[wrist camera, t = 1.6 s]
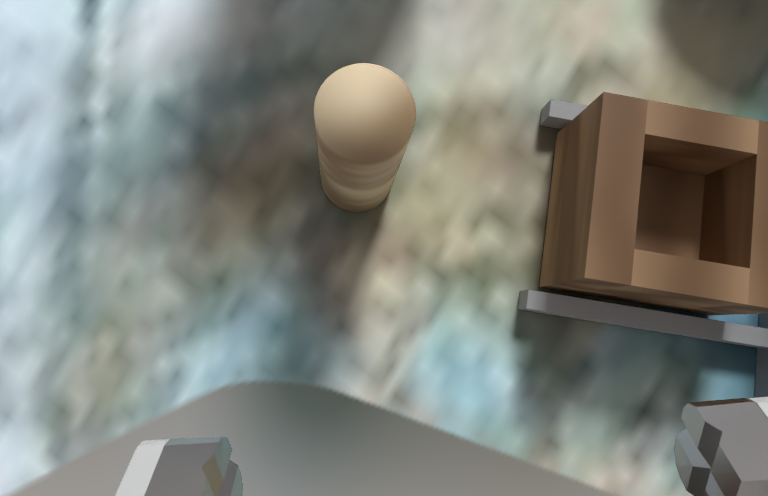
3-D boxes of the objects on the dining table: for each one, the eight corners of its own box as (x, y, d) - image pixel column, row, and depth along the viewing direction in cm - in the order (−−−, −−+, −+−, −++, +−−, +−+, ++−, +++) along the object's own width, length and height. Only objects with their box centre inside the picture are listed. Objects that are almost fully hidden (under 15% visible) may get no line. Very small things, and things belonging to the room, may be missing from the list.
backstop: (511, 365, 32) (578, 379, 23) (547, 60, 34) (620, -34, 26) (787, 408, 33) (955, 438, 24) (802, 107, 35) (959, 32, 26)
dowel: (306, 177, 32) (292, 110, 22) (356, 128, 33) (363, 43, 23) (357, 227, 32) (366, 182, 22) (407, 177, 33) (436, 112, 23)
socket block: (539, 286, 32) (584, 277, 26) (557, 133, 34) (604, 91, 28) (710, 315, 33) (792, 312, 27) (721, 163, 34) (801, 128, 28)
